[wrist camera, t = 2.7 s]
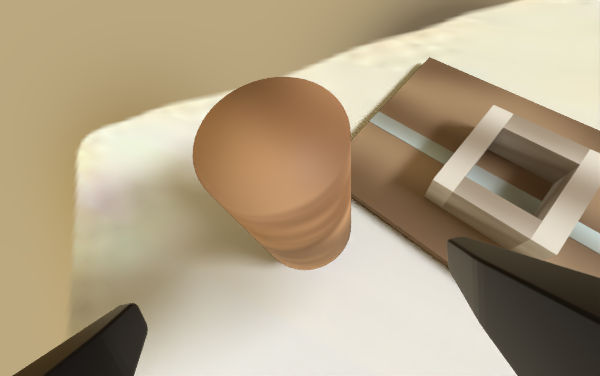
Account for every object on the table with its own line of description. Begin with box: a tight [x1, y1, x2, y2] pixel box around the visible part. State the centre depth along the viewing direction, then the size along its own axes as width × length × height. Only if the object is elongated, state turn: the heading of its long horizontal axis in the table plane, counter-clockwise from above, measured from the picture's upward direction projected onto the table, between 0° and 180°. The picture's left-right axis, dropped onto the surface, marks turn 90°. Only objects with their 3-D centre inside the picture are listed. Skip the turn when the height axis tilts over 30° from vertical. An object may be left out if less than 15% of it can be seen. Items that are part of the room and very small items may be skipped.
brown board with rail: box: [351, 57, 600, 278], centre depth 19 cm, size 14×22×3 cm, turn 47°
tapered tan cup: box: [193, 77, 351, 270], centre depth 16 cm, size 6×6×12 cm
